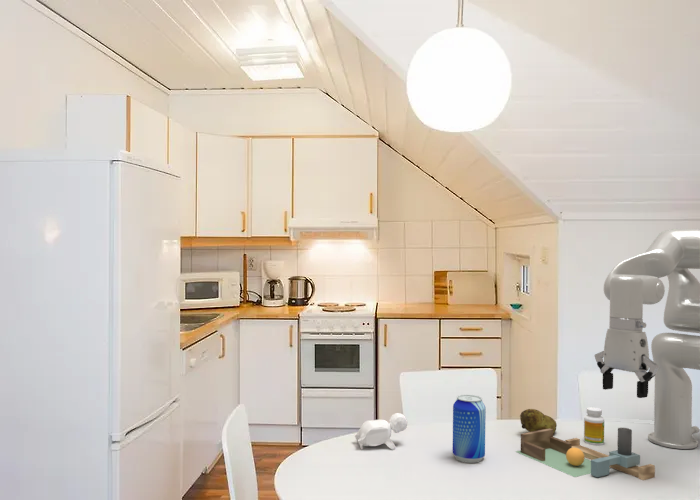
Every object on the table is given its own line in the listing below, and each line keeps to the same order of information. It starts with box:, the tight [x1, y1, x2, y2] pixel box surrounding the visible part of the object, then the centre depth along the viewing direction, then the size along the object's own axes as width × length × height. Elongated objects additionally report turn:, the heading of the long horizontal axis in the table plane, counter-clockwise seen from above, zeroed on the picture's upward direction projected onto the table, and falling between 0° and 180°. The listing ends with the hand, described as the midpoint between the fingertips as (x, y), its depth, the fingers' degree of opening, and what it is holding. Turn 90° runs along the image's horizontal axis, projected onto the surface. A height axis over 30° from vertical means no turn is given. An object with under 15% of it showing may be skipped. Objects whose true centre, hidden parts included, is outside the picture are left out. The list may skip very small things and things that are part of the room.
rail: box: [564, 437, 656, 481], centre depth 150 cm, size 4×23×3 cm, turn 28°
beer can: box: [452, 394, 487, 464], centre depth 153 cm, size 8×8×16 cm
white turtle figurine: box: [353, 412, 408, 451], centre depth 163 cm, size 9×8×15 cm
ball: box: [566, 448, 585, 466], centre depth 148 cm, size 4×4×4 cm
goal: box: [520, 428, 572, 461], centre depth 157 cm, size 11×8×5 cm
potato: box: [519, 408, 558, 435], centre depth 173 cm, size 8×13×8 cm, turn 103°
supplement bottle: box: [583, 406, 605, 446], centre depth 167 cm, size 5×5×10 cm
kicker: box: [590, 427, 641, 478], centre depth 144 cm, size 14×5×10 cm, turn 118°
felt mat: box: [515, 448, 611, 478], centre depth 152 cm, size 13×20×1 cm, turn 28°
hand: (624, 393), depth 146 cm, fingers open, 9 cm apart
